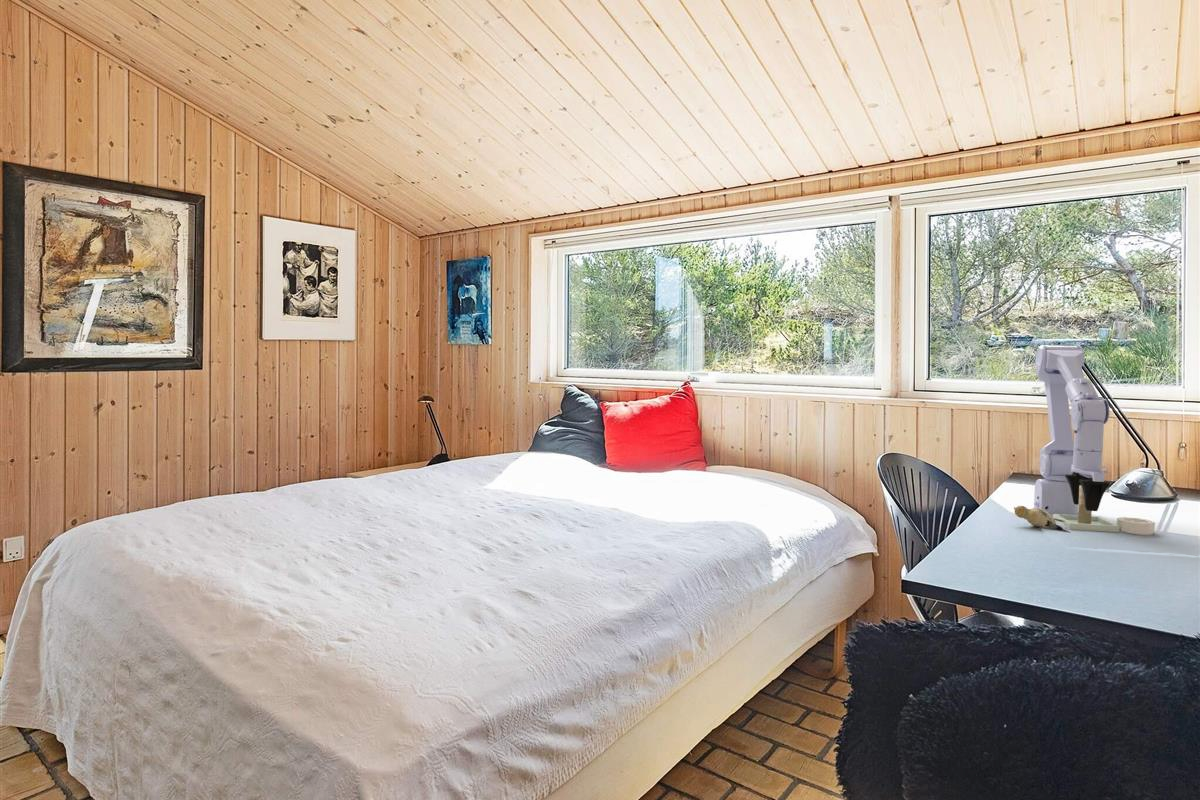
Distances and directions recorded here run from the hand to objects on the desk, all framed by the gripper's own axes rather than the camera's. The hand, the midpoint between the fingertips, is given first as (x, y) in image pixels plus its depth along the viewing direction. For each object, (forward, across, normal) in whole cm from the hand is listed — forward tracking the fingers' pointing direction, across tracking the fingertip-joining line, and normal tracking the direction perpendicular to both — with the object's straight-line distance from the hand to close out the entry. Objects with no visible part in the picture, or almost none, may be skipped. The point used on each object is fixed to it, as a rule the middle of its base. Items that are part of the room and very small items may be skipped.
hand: (1085, 507), depth 172 cm
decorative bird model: (+5, -5, +10) cm, 12 cm away
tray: (+5, 0, 0) cm, 5 cm away
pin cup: (+5, -4, -9) cm, 11 cm away
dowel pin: (+4, 0, 0) cm, 4 cm away
